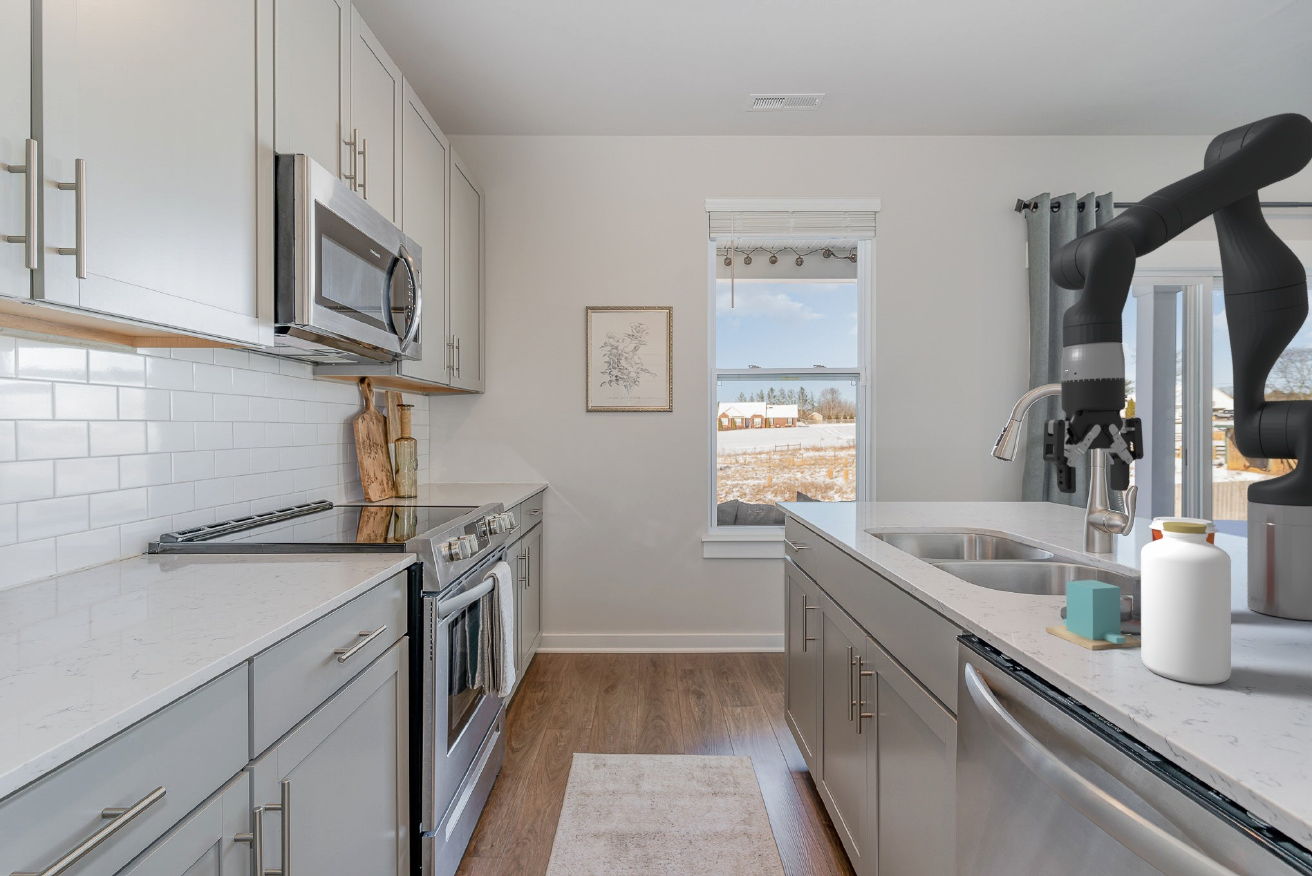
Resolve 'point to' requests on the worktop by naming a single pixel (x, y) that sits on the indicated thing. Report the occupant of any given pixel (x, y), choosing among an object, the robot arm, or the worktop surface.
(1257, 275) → the robot arm
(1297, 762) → the worktop surface
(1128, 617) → the grey round stand
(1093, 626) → the teal block with tabs
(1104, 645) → the coaster
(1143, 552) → the potion bottle
